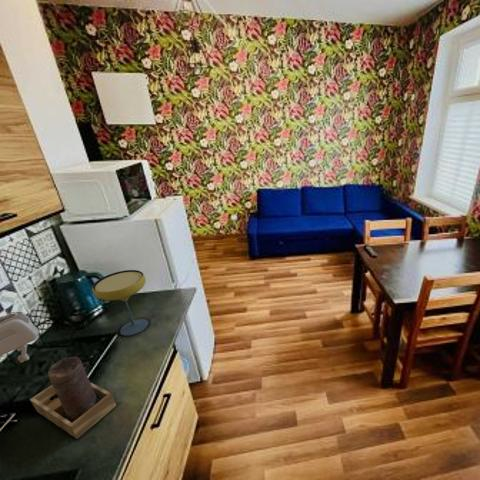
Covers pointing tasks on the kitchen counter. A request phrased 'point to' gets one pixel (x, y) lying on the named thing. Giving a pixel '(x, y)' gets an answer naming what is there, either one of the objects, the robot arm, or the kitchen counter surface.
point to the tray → (58, 416)
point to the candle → (72, 387)
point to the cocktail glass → (122, 294)
